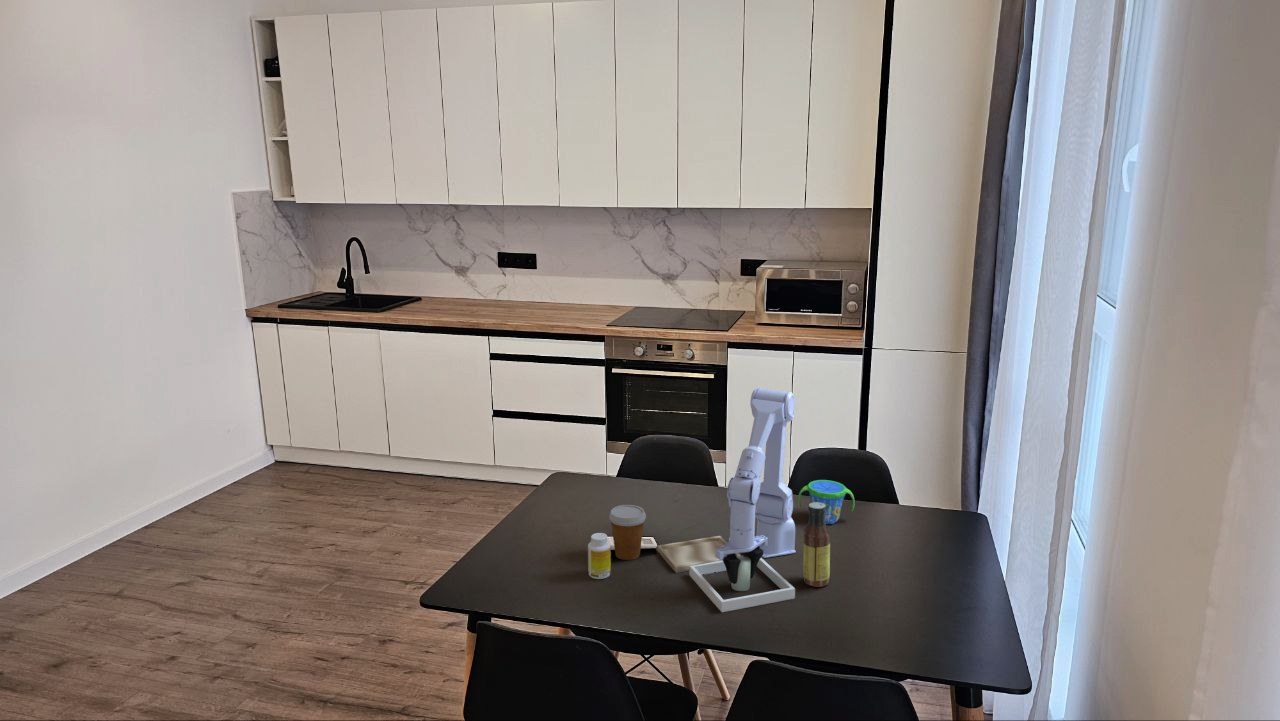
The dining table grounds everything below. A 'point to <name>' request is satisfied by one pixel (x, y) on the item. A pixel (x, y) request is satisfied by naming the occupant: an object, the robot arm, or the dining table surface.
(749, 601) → the white hollow square frame
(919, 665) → the dining table surface
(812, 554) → the sauce bottle
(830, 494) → the snack cup
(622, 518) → the disposable coffee cup
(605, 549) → the supplement bottle
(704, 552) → the birch tray
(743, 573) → the sage cylinder
